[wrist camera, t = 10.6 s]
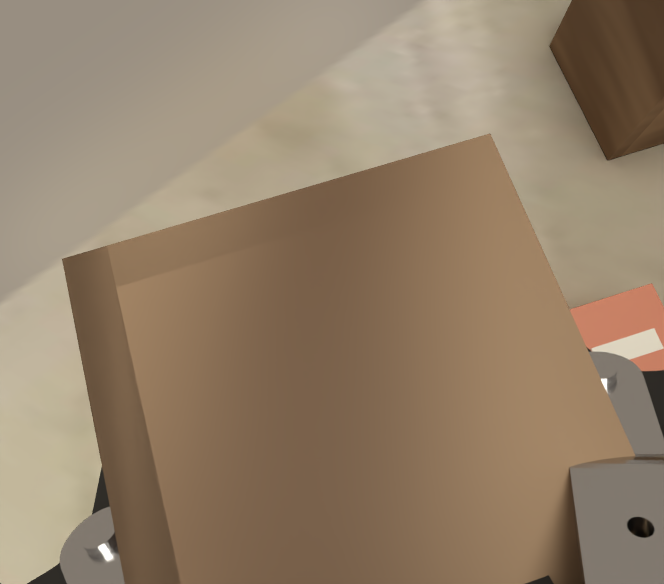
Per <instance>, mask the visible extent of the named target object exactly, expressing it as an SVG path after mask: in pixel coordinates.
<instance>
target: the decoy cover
mask: <svg viewBox="0 0 664 584" xmlns="http://www.w3.org/2000/svg"><path fill="white" fill-rule="evenodd" d="M550 48H551V50H552V52H553V54H554V56H555V58H556V60H557V62H558V64H559V66H560V68H561V70H562V71H563V73H564V75H565V77H566V79H567V81H568V83H569V85H570V87H571V89H572V91H573V93H574V95H575V97H576V99H577V101H578V103H579V105H580V107H581V109H582V111H583V113H584V115H585V117H586V119H587V121H588V123H589V125H590V126H591V128H592V130H593V132H594V134H595V136H596V138H597V140H598V142H599V144H600V146H601V148H602V150H603V152H604V154H605V156H606V158H607V160H610V159H614V158H617V157H620V156H623V155H627V154H630V153H633V152H637V151H640V150H643V149H646V148H650V147H653V146H656V145H659V144H663V143H664V0H572V1H571V3H570V6H569V8H568V10H567V12H566V14H565V16H564V18H563V20H562V22H561V24H560V26H559V28H558V30H557V32H556V34H555V36H554V38H553V40H552V42H551V44H550Z"/></svg>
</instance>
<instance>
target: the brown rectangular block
mask: <svg viewBox="0 0 664 584" xmlns="http://www.w3.org/2000/svg"><path fill="white" fill-rule="evenodd" d="M62 261H63V266H64V271H65V276H66V282H67V287H68V292H69V297H70V302H71V308H72V313H73V318H74V323H75V328H76V333H77V339H78V344H79V349H80V354H81V359H82V365H83V370H84V375H85V380H86V385H87V390H88V396H89V401H90V406H91V411H92V416H93V422H94V427H95V432H96V437H97V442H98V447H99V453H100V458H101V463H102V468H103V473H104V479H105V484H106V489H107V494H108V499H109V504H110V510H111V515H112V520H113V525H114V530H115V536H116V541H117V546H118V551H119V556H120V562H121V567H122V572H123V577H124V582H125V584H525V583H528V582H531V581H534V580H537V579H539V578H542V577H545V576H548V575H549V577H550V578H551V580H552V582H553V583H554V584H582V579H581V571H580V564H579V556H578V549H577V542H576V532H575V521H574V510H573V499H572V489H571V478H570V467H571V466H574V465H578V464H581V463H586V462H591V461H596V460H601V459H609V458H617V457H628V456H635V454H634V451H633V449H632V447H631V445H630V443H629V440H628V438H627V436H626V434H625V431H624V429H623V427H622V425H621V423H620V420H619V418H618V416H617V414H616V412H615V409H614V407H613V405H612V403H611V400H610V398H609V396H608V394H607V392H606V389H605V387H604V385H603V383H602V380H601V378H600V376H599V374H598V372H597V369H596V367H595V365H594V363H593V361H592V358H591V356H590V354H589V352H588V349H587V347H586V345H585V343H584V341H583V338H582V336H581V334H580V332H579V329H578V327H577V325H576V323H575V321H574V318H573V316H572V314H571V312H570V310H569V307H568V305H567V303H566V301H565V298H564V296H563V294H562V292H561V290H560V287H559V285H558V283H557V281H556V278H555V276H554V274H553V272H552V270H551V267H550V265H549V263H548V261H547V259H546V256H545V254H544V252H543V250H542V247H541V245H540V243H539V241H538V239H537V236H536V234H535V232H534V230H533V228H532V225H531V223H530V221H529V219H528V216H527V214H526V212H525V210H524V208H523V205H522V203H521V201H520V199H519V196H518V194H517V192H516V190H515V188H514V185H513V183H512V181H511V179H510V177H509V174H508V172H507V170H506V168H505V165H504V163H503V161H502V159H501V157H500V154H499V152H498V150H497V148H496V145H495V143H494V141H493V139H492V137H491V134H487V135H484V136H480V137H477V138H473V139H470V140H467V141H463V142H460V143H456V144H453V145H449V146H446V147H443V148H439V149H436V150H432V151H429V152H426V153H422V154H419V155H415V156H412V157H409V158H405V159H402V160H398V161H395V162H391V163H388V164H385V165H381V166H378V167H374V168H371V169H368V170H364V171H361V172H357V173H354V174H350V175H347V176H344V177H340V178H337V179H333V180H330V181H327V182H323V183H320V184H316V185H313V186H309V187H306V188H303V189H299V190H296V191H292V192H289V193H286V194H282V195H279V196H275V197H272V198H269V199H265V200H262V201H258V202H255V203H251V204H248V205H245V206H241V207H238V208H234V209H231V210H228V211H224V212H221V213H217V214H214V215H210V216H207V217H204V218H200V219H197V220H193V221H190V222H187V223H183V224H180V225H176V226H173V227H169V228H166V229H163V230H159V231H156V232H152V233H149V234H146V235H142V236H139V237H135V238H132V239H129V240H125V241H122V242H118V243H115V244H111V245H108V246H105V247H101V248H98V249H94V250H91V251H88V252H84V253H81V254H77V255H74V256H70V257H67V258H64V259H62Z"/></svg>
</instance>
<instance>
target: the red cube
mask: <svg viewBox="0 0 664 584" xmlns="http://www.w3.org/2000/svg"><path fill="white" fill-rule="evenodd" d="M570 312H571V314H572V316H573V318H574V321H575V323H576V325H577V327H578V329H579V332H580V334H581V336H582V338H583V341H584V343H585V345H586V347H587V348H588V349H590V350H591V351H594V352H608V353H613V354H616V355H620V356H622V357H625V358H627V359H629V360H630V361H632V362H633V363H635V364H636V365H637V366H638V367H639V369H640V370H641V371H659V370H664V307H663V305H662V303H661V301H660V299H659V297H658V295H657V293H656V291H655V289H654V287H653V285H652V284H648V285H645V286H642V287H639V288H636V289H633V290H630V291H626V292H623V293H620V294H617V295H614V296H611V297H608V298H604V299H601V300H598V301H595V302H592V303H589V304H585V305H582V306H579V307H576V308H573V309H570Z"/></svg>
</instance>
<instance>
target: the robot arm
mask: <svg viewBox="0 0 664 584" xmlns="http://www.w3.org/2000/svg"><path fill="white" fill-rule="evenodd" d="M587 349H588V348H587ZM588 352H589V354H590V356H591V358H592V361H593V363H594V365H595V367H596V369H597V372H598V374H599V376H600V378H601V380H602V383H603V385H604V387H605V389H606V392H607V394H608V396H609V398H610V400H611V403H612V405H613V407H614V409H615V412H616V414H617V416H618V418H619V420H620V423H621V425H622V427H623V429H624V431H625V434H626V436H627V438H628V440H629V443H630V445H631V447H632V449H633V451H634V454H635V456H628V457H617V458H609V459H601V460H596V461H591V462H586V463H581V464H578V465H574V466H571V467H570V478H571V489H572V499H573V510H574V521H575V532H576V542H577V549H578V556H579V564H580V571H581V579H582V584H664V370H659V371H641V370H640V369H639V367H638V366H637V365H636V364H635V363H633V362H632V361H630V360H629V359H627V358H625V357H622V356H620V355H616V354H613V353H608V352H594V351H591V350H590V349H588ZM0 584H1V583H0ZM27 584H125V582H124V577H123V572H122V567H121V562H120V556H119V551H118V546H117V541H116V536H115V530H114V525H113V520H112V515H111V510H110V504H109V499H108V494H107V489H106V484H105V479H104V473H103V468H101V473H100V478H99V483H98V488H97V493H96V498H95V503H94V508H93V513H92V515H91V516H90V517H88V518H87V519H85V520H84V521H83V522H82V523H81V524H80V525H78V526H77V527H76V529H75V530H74V531H73V532H72V533H71V534H70V536H69V537H68V539H67V540H66V542H65V544H64V546H63V548H62V551H61V555H60V563H59V564H58V565H56V566H55V567H53V568H52V569H50V570H49V571H47V572H46V573H44V574H42V575H41V576H39V577H37V578H36V579H34V580H32V581H31V582H29V583H27ZM525 584H554V583H553V582H552V580H551V578H550V577H549V575H548V576H545V577H542V578H539V579H537V580H534V581H531V582H528V583H525Z"/></svg>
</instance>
